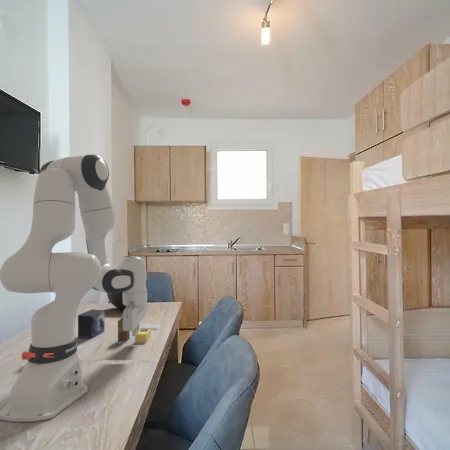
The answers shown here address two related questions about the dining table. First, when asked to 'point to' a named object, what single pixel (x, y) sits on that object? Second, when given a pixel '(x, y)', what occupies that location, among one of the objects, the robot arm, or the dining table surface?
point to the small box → (91, 323)
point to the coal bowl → (116, 300)
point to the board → (141, 326)
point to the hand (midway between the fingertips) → (135, 335)
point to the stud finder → (143, 335)
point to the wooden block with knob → (122, 331)
